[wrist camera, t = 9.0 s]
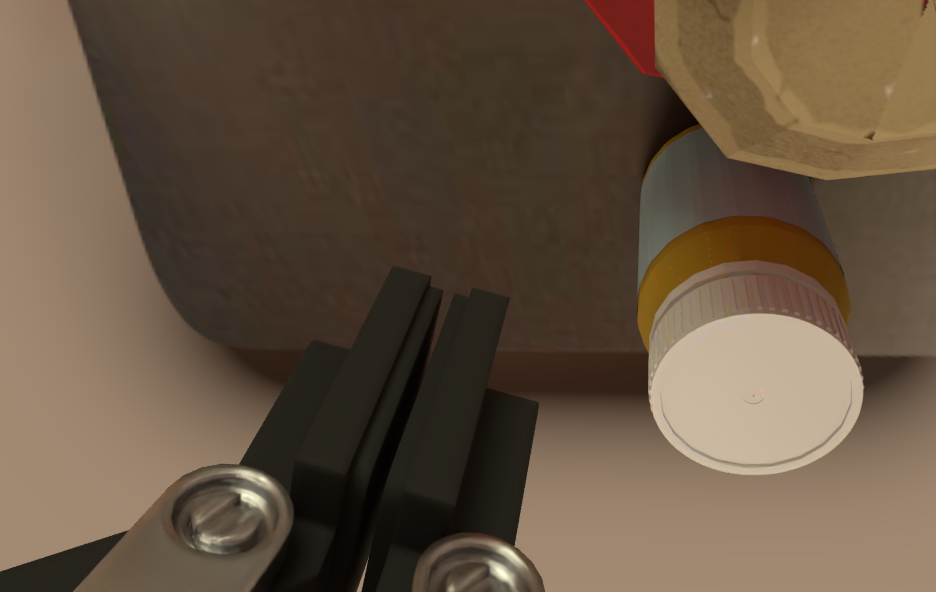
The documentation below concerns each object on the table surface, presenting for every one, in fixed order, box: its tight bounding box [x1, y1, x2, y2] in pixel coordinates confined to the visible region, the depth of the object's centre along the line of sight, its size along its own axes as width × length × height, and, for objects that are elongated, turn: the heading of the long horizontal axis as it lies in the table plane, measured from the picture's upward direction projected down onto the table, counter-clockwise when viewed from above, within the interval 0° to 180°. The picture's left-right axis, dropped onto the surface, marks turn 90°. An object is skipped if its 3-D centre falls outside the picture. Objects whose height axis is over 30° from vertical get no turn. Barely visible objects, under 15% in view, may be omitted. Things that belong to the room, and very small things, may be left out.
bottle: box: [637, 124, 864, 475], centre depth 32 cm, size 7×7×15 cm
